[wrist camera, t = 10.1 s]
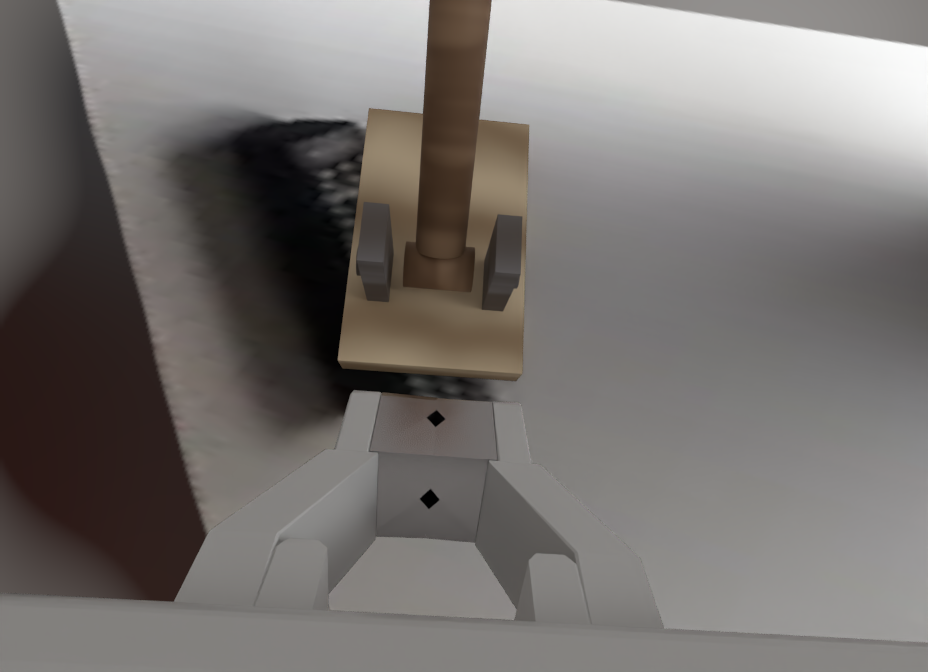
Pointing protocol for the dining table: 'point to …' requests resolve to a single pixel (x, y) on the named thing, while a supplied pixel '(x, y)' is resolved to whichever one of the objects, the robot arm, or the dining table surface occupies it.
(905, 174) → the dining table surface
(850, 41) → the dining table surface
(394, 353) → the press base
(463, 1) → the lever
